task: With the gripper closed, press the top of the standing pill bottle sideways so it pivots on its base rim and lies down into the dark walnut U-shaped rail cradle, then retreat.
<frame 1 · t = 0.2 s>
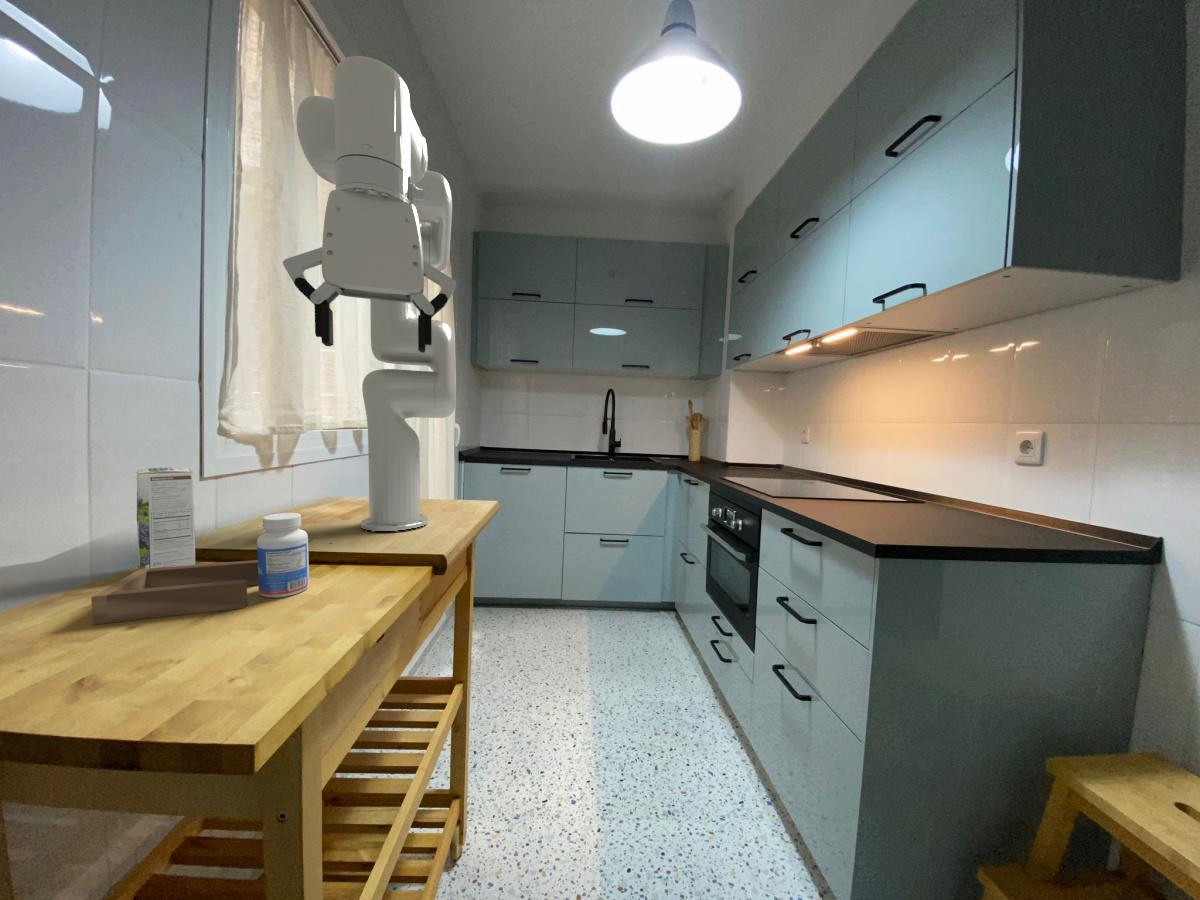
hand: (376, 347, 53), 30 cm above the worktop, fingers open, 9 cm apart
syrup box: (168, 571, 67), on the worktop
pill bottle: (284, 592, 60), on the worktop
cradle: (196, 599, 57), on the worktop
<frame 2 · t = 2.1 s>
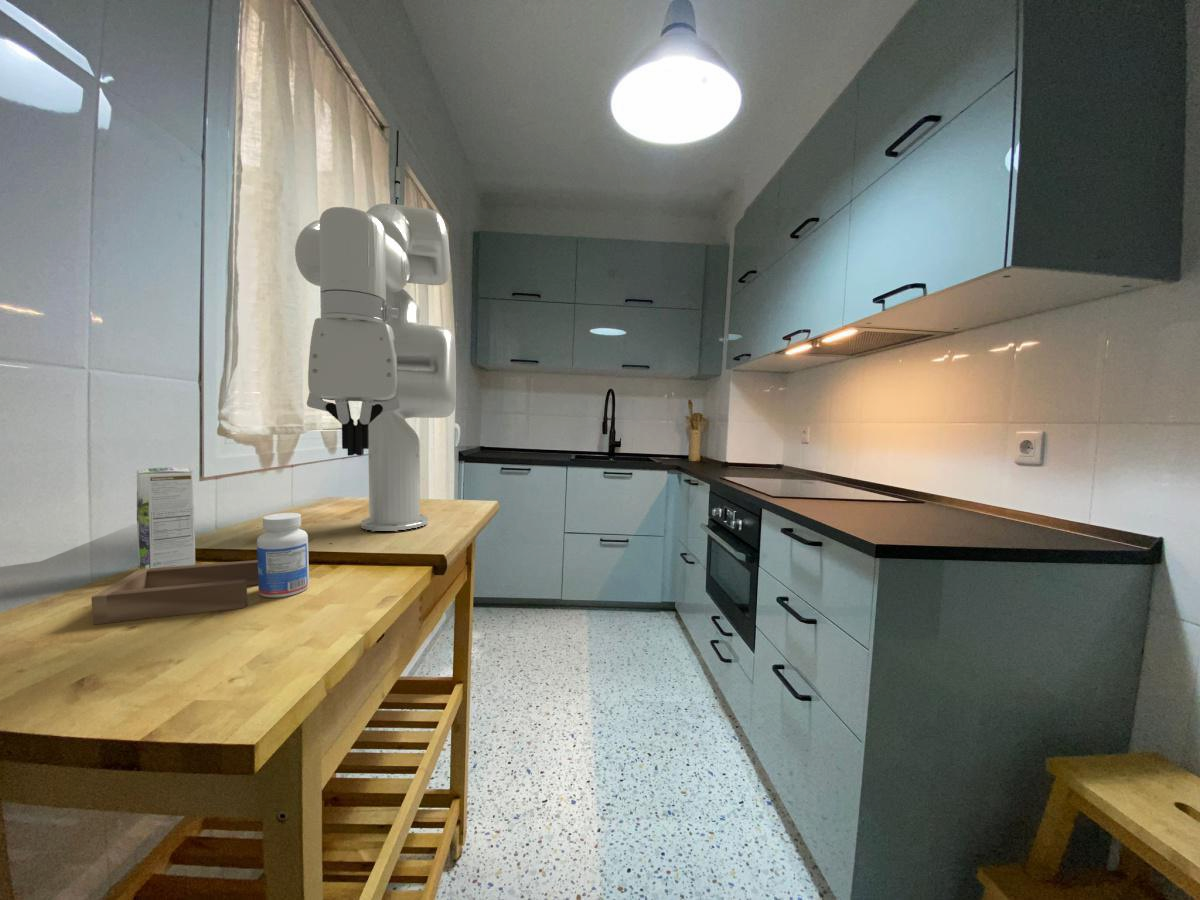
hand: (355, 454, 61), 17 cm above the worktop, fingers closed
nothing on the worktop moved.
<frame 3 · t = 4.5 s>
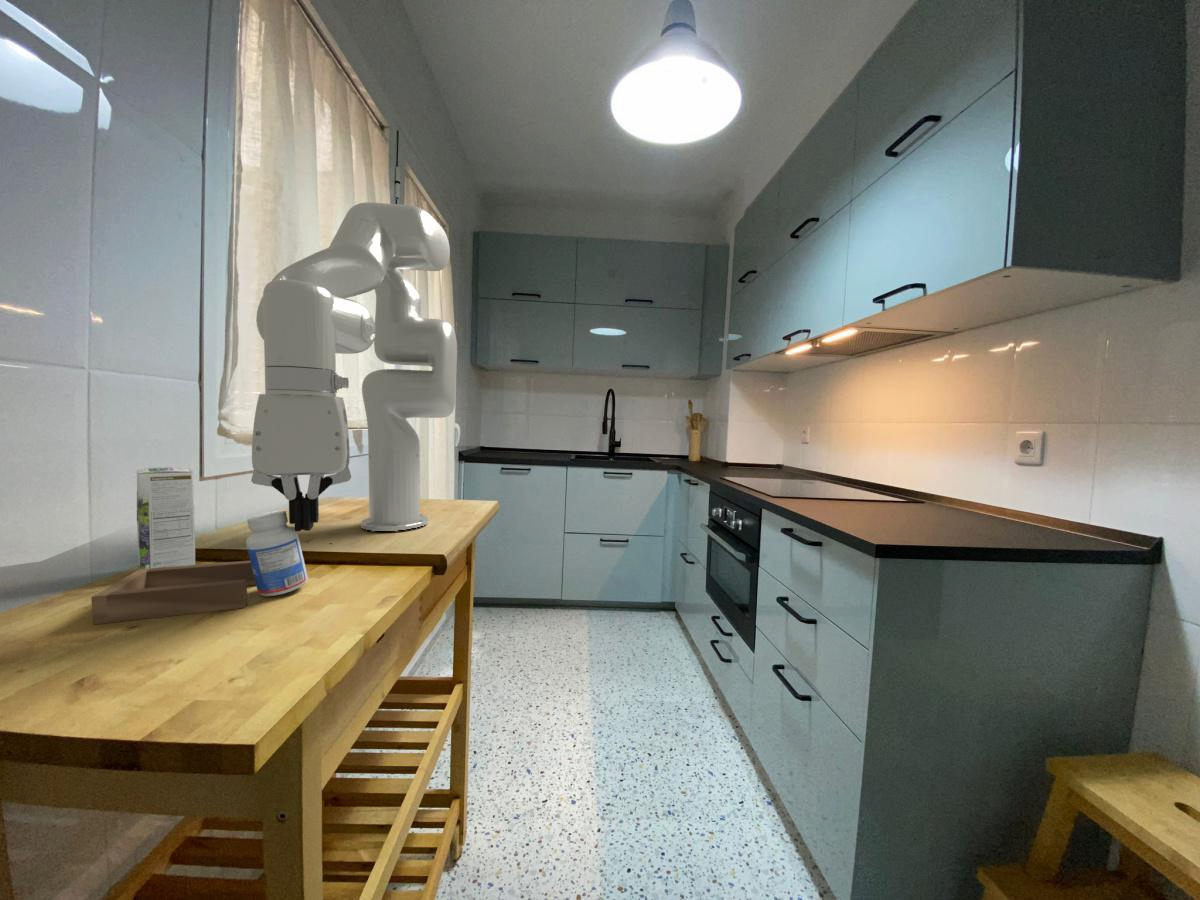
hand: (304, 528, 60), 8 cm above the worktop, fingers closed
pill bottle: (284, 589, 60), on the worktop, touching gripper
everything else where it was.
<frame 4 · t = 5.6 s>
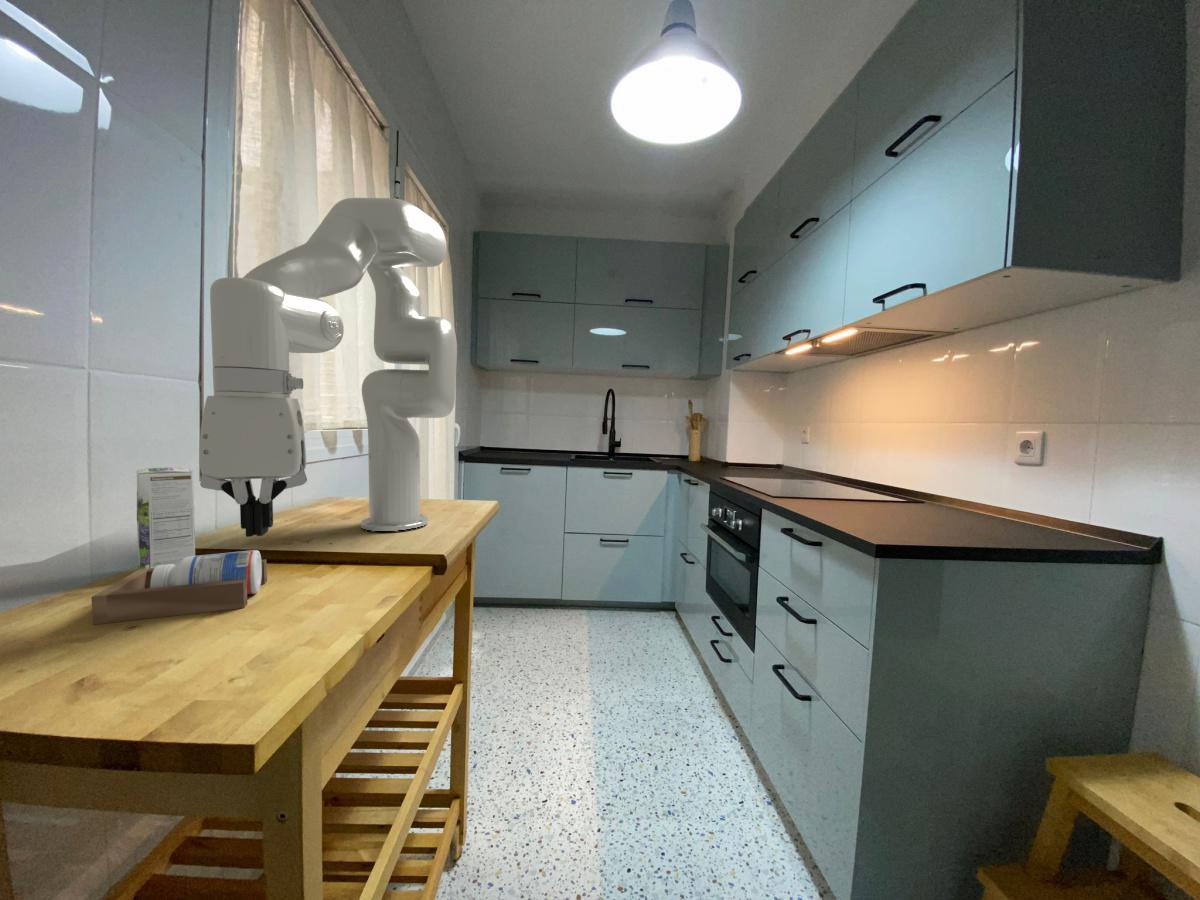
hand: (257, 533, 58), 8 cm above the worktop, fingers closed
pill bottle: (260, 571, 59), point 3 cm above the worktop
everything else where it was.
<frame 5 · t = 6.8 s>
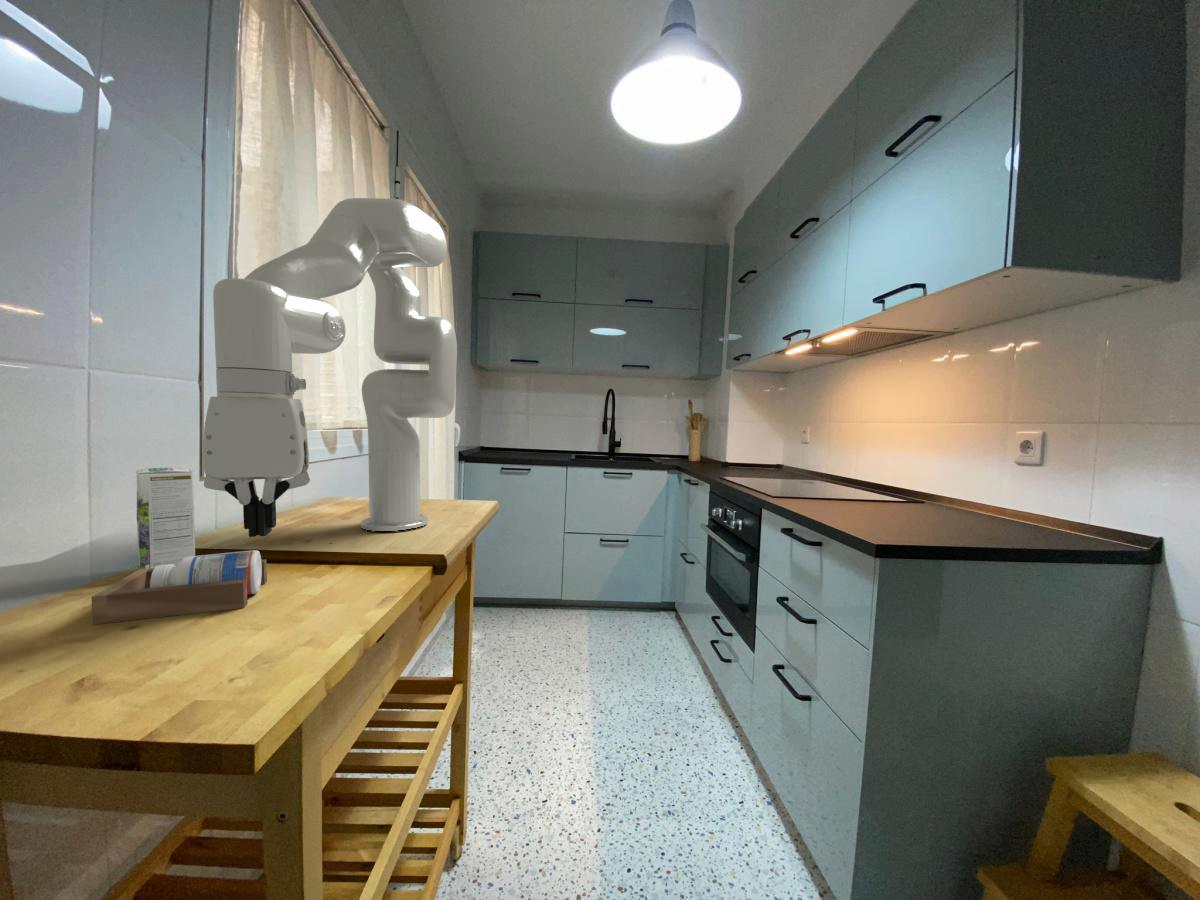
hand: (260, 533, 58), 8 cm above the worktop, fingers closed
nothing on the worktop moved.
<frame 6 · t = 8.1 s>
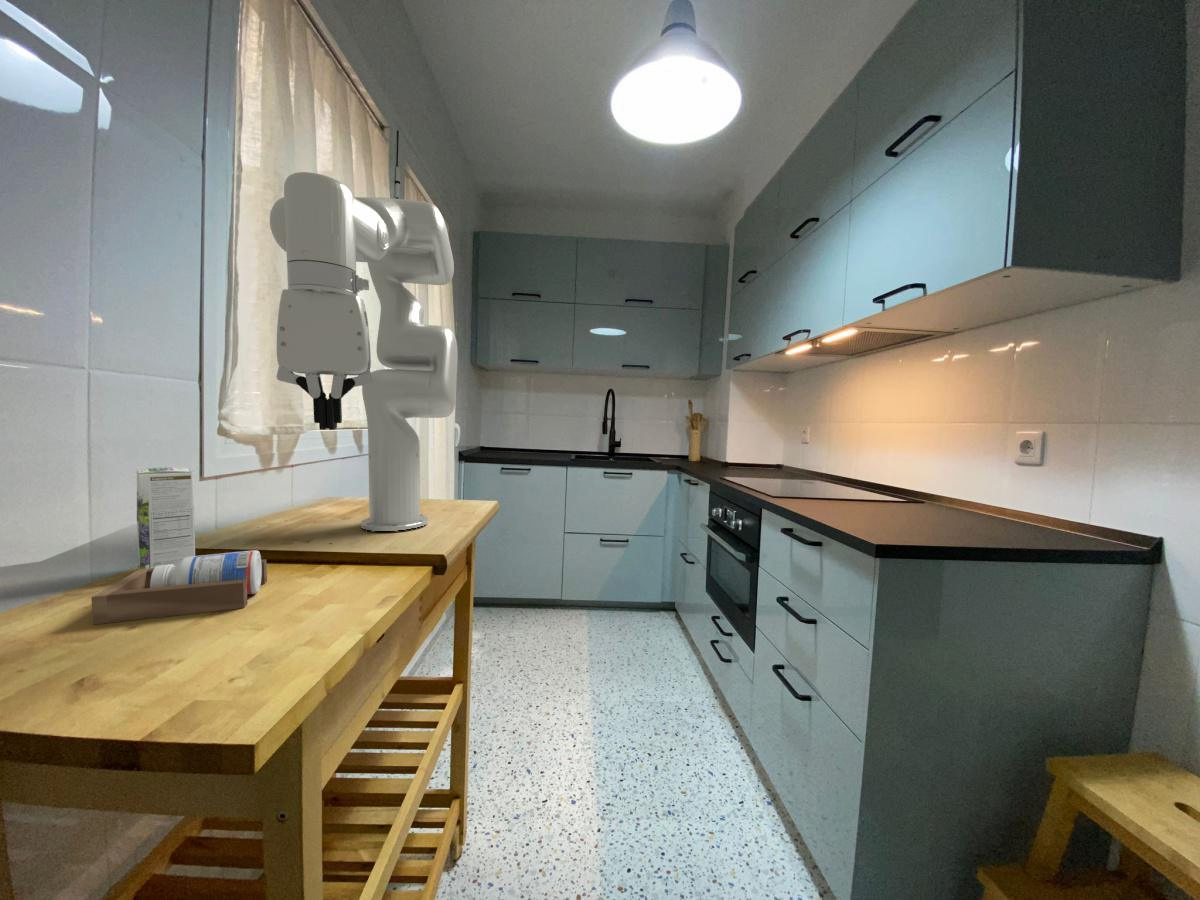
hand: (328, 428, 61), 21 cm above the worktop, fingers closed
nothing on the worktop moved.
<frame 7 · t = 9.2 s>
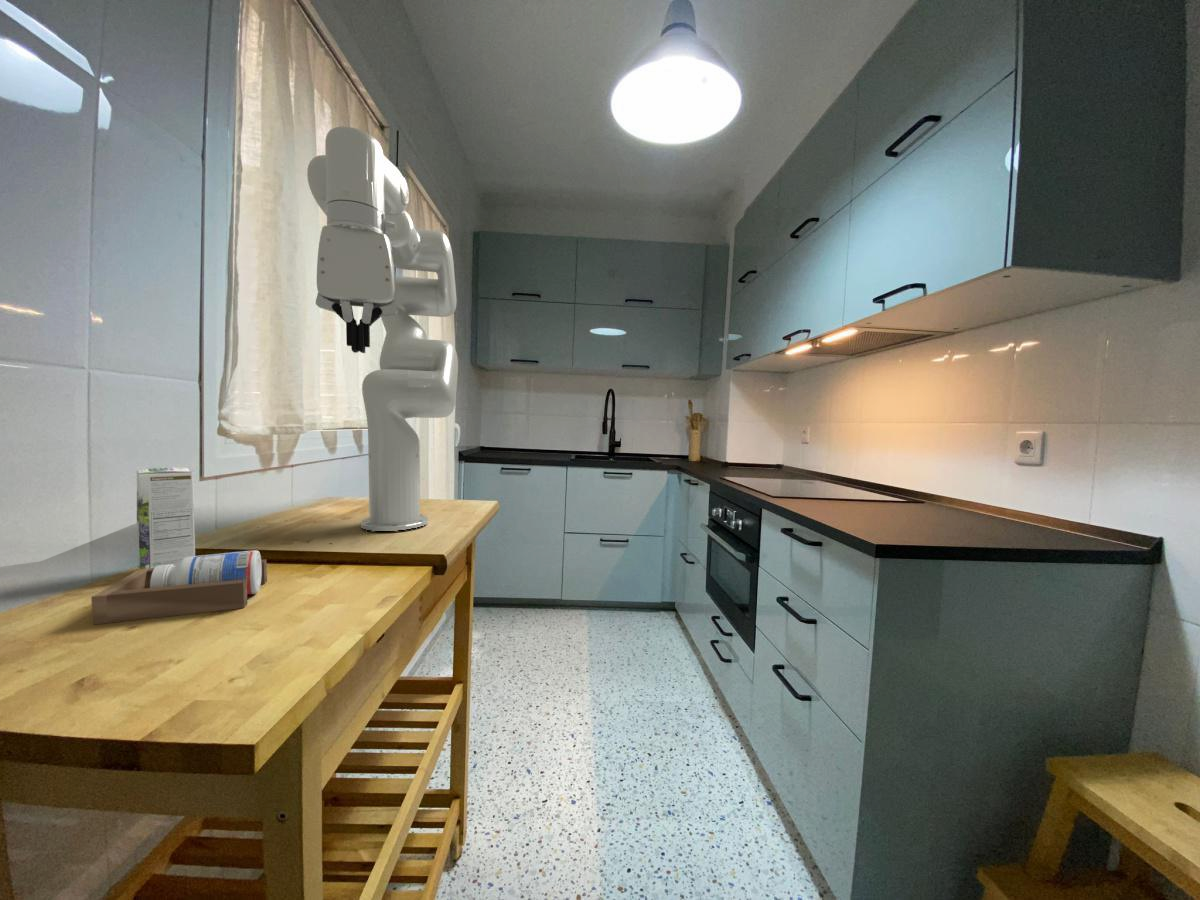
hand: (358, 351, 70), 32 cm above the worktop, fingers closed
nothing on the worktop moved.
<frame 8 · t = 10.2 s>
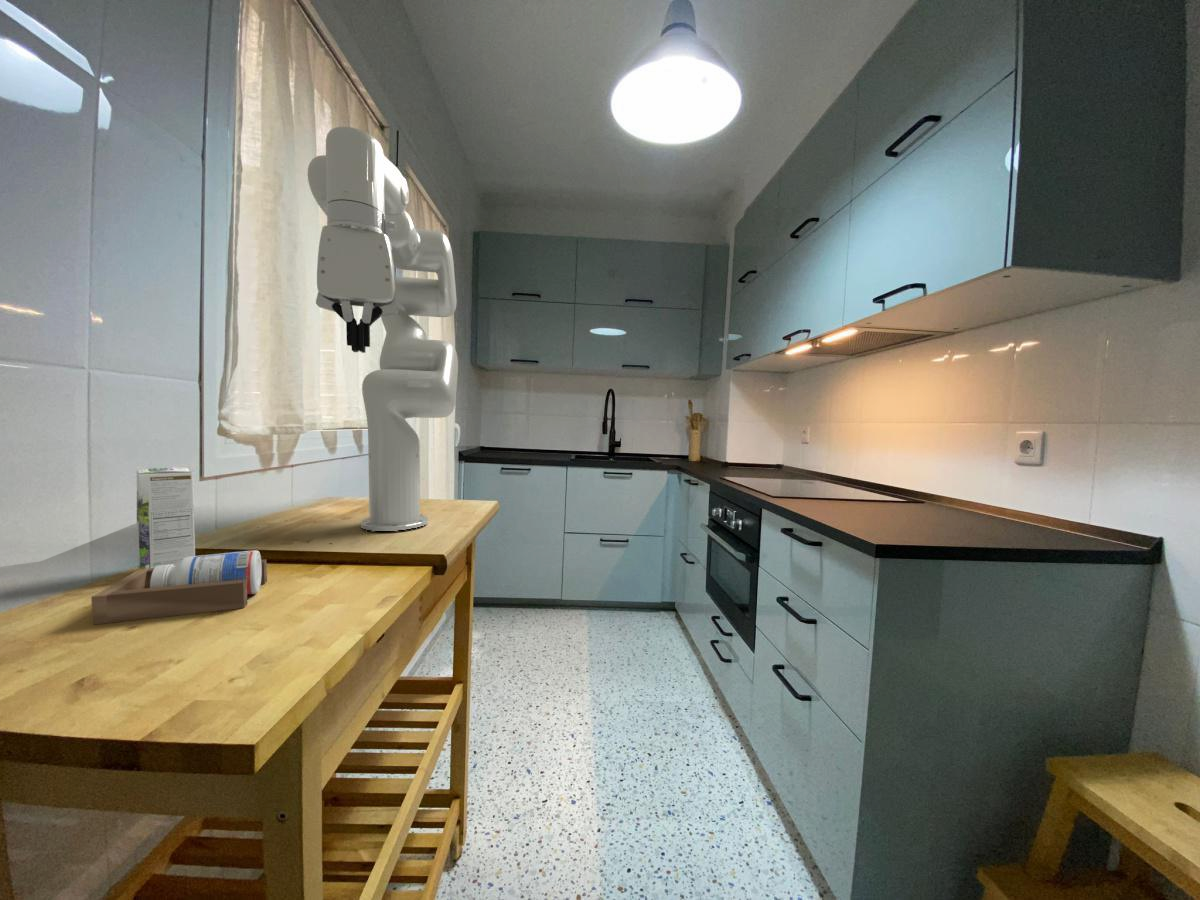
hand: (358, 351, 70), 32 cm above the worktop, fingers closed
nothing on the worktop moved.
at the end: pill bottle tilted 90°; pill bottle inside the target area (6.2 cm from its centre), point 2.7 cm above the worktop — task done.
